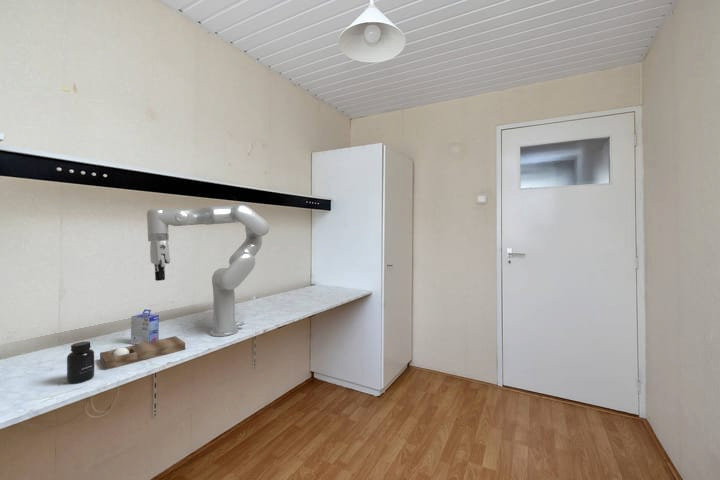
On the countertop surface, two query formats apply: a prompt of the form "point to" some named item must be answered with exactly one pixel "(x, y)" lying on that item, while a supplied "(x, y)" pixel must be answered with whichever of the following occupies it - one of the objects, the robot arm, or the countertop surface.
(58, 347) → the countertop surface
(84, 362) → the supplement bottle
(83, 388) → the countertop surface
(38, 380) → the countertop surface
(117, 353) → the ball
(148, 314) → the ink cartridge box
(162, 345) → the board
